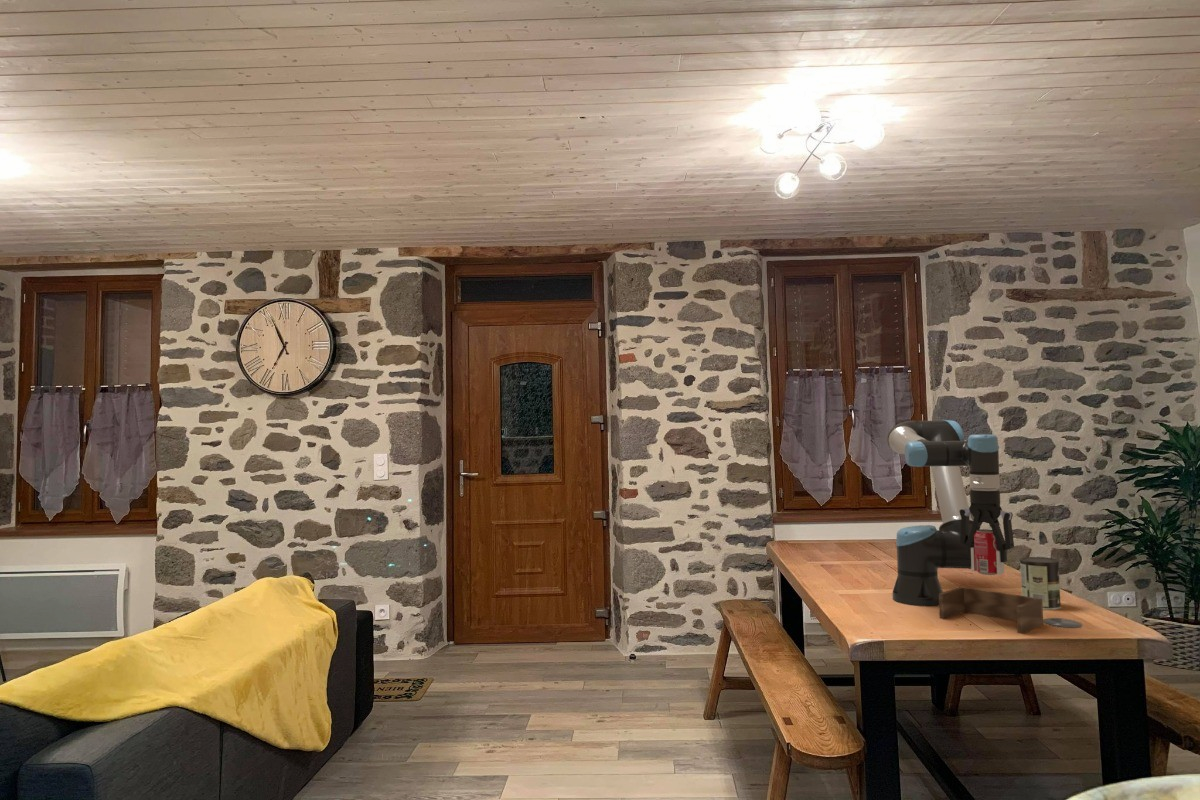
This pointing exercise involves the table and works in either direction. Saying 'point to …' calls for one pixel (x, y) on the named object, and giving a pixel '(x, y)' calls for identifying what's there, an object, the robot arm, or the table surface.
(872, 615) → the table surface
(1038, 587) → the coffee can
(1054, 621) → the slate coaster
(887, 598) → the table surface
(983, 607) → the walnut u-shaped barrier
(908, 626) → the table surface
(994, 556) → the beverage can
